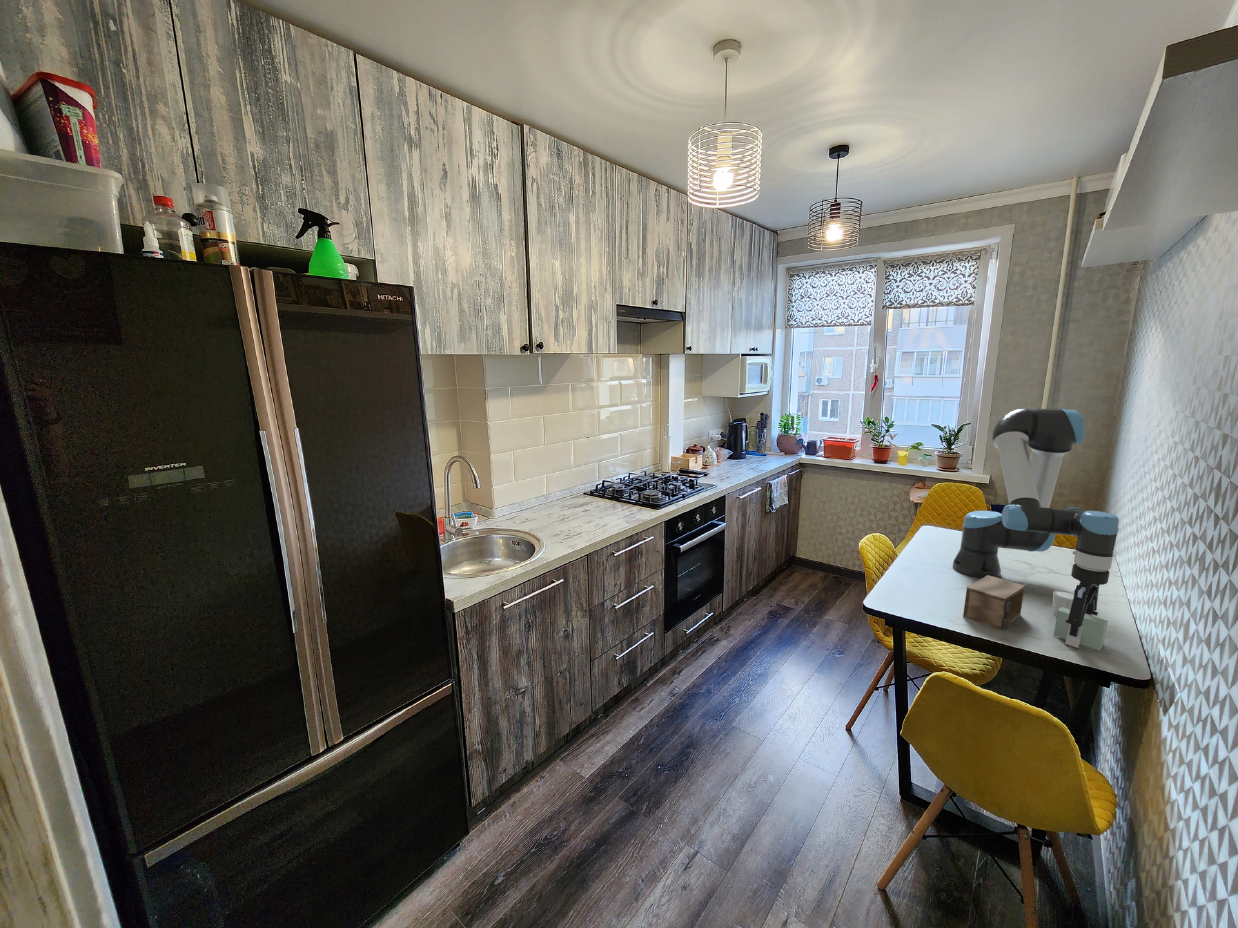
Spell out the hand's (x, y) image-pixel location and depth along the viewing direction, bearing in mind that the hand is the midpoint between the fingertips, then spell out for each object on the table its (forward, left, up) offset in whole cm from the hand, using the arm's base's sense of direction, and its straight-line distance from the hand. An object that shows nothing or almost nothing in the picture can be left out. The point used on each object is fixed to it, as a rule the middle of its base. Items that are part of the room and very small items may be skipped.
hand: (1077, 639), depth 143 cm
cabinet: (+3, -20, 0) cm, 20 cm away
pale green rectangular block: (0, 0, 0) cm, 0 cm away
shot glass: (-16, -7, 0) cm, 17 cm away
